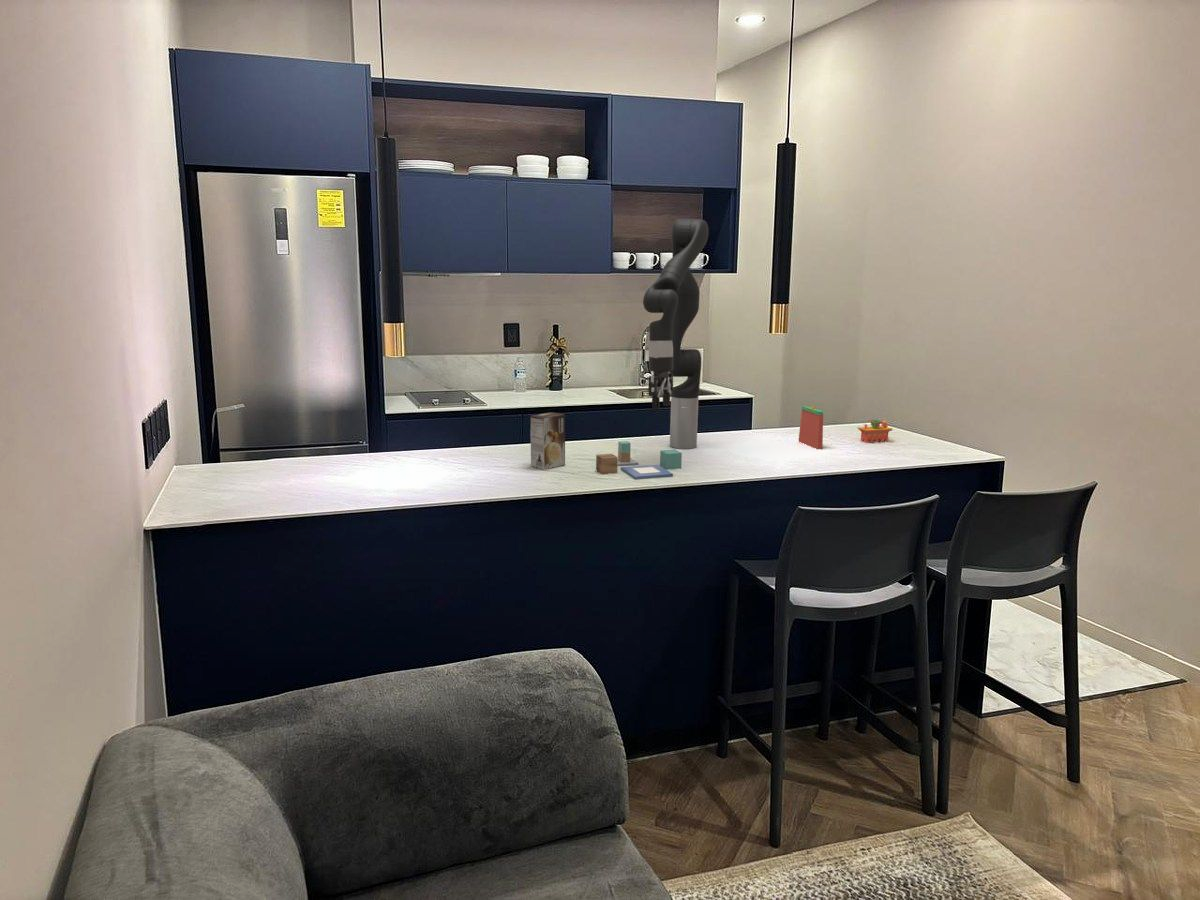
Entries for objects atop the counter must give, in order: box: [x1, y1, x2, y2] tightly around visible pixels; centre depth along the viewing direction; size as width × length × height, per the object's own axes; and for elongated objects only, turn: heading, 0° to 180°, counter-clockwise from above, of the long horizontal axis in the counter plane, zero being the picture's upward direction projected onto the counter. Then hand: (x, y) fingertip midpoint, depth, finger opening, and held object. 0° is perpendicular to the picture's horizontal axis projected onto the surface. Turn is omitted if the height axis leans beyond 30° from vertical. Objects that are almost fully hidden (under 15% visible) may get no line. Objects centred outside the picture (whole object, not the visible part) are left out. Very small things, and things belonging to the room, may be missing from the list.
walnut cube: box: [595, 453, 618, 475], centre depth 262 cm, size 5×5×5 cm
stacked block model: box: [617, 440, 639, 467], centre depth 273 cm, size 7×7×7 cm
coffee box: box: [529, 411, 566, 470], centre depth 267 cm, size 9×6×16 cm
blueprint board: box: [620, 464, 674, 480], centre depth 262 cm, size 12×12×1 cm
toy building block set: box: [798, 405, 893, 450], centre depth 306 cm, size 12×35×14 cm, turn 108°
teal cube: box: [659, 448, 683, 471], centre depth 269 cm, size 5×5×5 cm
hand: (661, 407), depth 271 cm, fingers open, 8 cm apart
